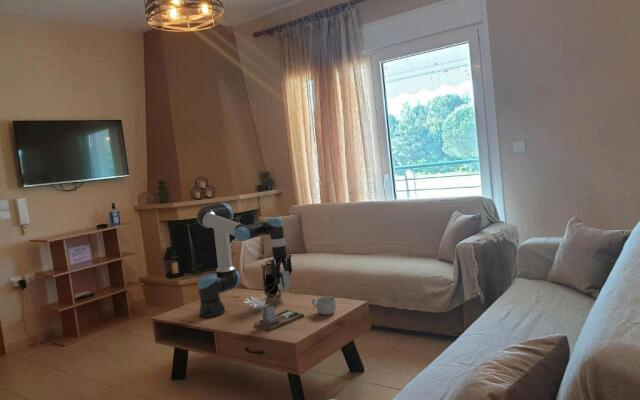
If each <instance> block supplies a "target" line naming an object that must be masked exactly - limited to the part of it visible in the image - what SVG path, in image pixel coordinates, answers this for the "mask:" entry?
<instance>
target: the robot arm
mask: <svg viewBox="0 0 640 400" xmlns="http://www.w3.org/2000/svg"><path fill="white" fill-rule="evenodd" d="M233 218H234V210H233V209H232V206H231V205H229V204H228V203H227V202H218V203H214V204H210V205H205V206H202V207H201V208H199V210H198V211H197V213H196V221H197V223H198V224H199V225H200V227H201V226H202V227H204V228H206V229H210V228H212V229H213V233H214V242H215V249H216V250H215V251H216V259H217V260H216V261H217V268H216V270H215V273H214V272H213V273H212V272H210V273H208V274H207V273H206V274H204V275H202V276H200V277H199V278H198V279H197V288H198V289H197V290H198V294H199V295H198V296H199V300H200V305H199V310H198V311H199V312H198V313H199V314H198V315H199V318H201V319H213V318H216V317H220V316H222V315H224V314H225V312H226V309H225V306H224V304H223V302H222V300H221V295H220V294H223V293H225V292H227V291H232V290H234V289H236V288H237V287H238V286H239V285H240V283H241V275H240V273H239V271H238V270H237V269H236V268H235V266H234V265H233V260H232V259H233V258H232V251H231V250H232V249H231V243H230V242H231V241H230V236H233V237H234V238H235V239H236V241H238V242H246V241H248V240H252V239H254V238H255V239H256V238H259V237H262V236H270V243H271V244H270V245H271V251H272V252H271V253H272V255H273V256H272V258H271V259H269V260H268V261H269V262H270V263H269V264H271V269H272V275H273V277H276V280H277V283H278V287H279V289H281V290H284V289H283V287H282V280H281V277H280V271H281V265H282V268H283V271H289V277H290V278H291V276H290V275H291V274H292V273H293V268H292V267H293V266H292V255H291V254H289V253H288V254H287V246H286V239H285V238H286V237H285V233H284V224H283V219H282V217H281V216H276V217H274V216H273V217H269V218H268V220H267V221H265V220H264V221H262V220H261V221H255V222H254V223H251V224H247V225H245V224H243V223H240V222H237V221H234V220H233Z"/></svg>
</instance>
